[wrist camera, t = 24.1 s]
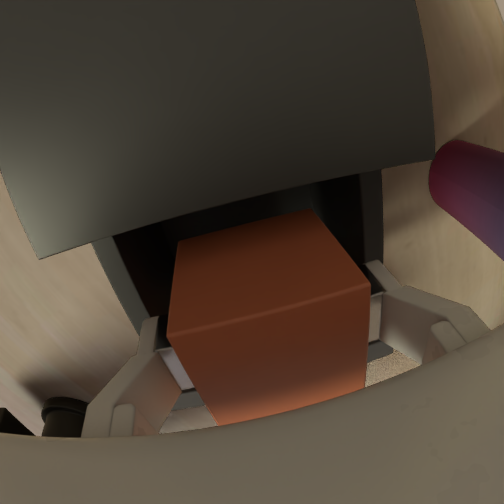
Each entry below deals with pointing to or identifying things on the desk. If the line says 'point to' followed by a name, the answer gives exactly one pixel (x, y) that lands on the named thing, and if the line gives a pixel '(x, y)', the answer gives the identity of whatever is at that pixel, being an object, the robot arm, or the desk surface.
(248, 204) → the drawer
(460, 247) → the desk surface
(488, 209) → the cup
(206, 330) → the block
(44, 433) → the light fixture
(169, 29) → the cabinet
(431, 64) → the desk surface
